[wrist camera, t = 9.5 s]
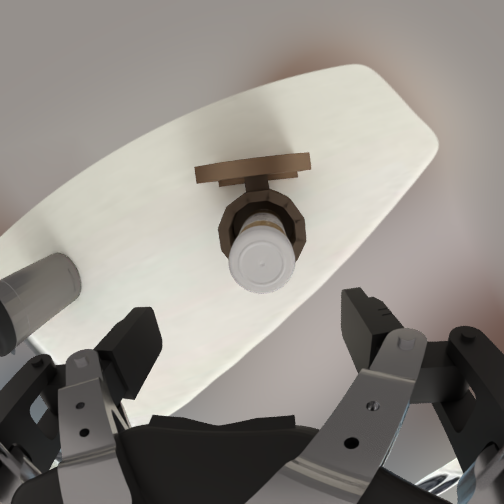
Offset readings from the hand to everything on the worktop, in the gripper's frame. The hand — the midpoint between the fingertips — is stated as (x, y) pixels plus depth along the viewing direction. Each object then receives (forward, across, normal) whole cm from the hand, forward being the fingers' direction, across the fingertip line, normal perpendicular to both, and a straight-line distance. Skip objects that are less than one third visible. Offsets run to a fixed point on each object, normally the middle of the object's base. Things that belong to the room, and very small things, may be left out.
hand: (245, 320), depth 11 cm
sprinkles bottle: (+21, -1, 0) cm, 21 cm away
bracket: (+26, 0, -2) cm, 26 cm away
